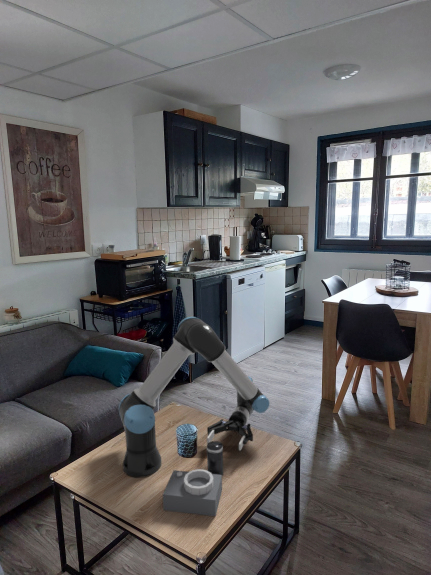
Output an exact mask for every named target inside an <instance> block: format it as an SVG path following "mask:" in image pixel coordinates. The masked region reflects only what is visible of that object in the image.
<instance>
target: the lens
mask: <svg viewBox="0 0 431 575" xmlns="http://www.w3.org/2000/svg"><path fill="white" fill-rule="evenodd" d="M223 450H224V445H223V443H222V442H221V441H218V440H213V441H212V440H211V442H209V443H208V444H207V443H206V456H207V457H206V459H207V460H206V462H207V471H209V472H210V473H211V474H218V475H222V477H223V476H224V451H223Z"/></svg>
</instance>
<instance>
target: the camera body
mask: <svg viewBox="0 0 431 575" xmlns="http://www.w3.org/2000/svg"><path fill="white" fill-rule="evenodd" d="M222 492H223V476H222V475H218V474H211V473H210V472H209V471H208V469H200V468H196V469H193V470H190V471H186V470H185V471H184V470H178V469H177V470H176V469H173V471H172V473H171V475H170V478H169V480H168V482H167V484H166V486H165V489H164V491H163V493H162V507H163V508H162V509H163V511H166V512H167V511H168V512H175V513H176V512H177V513H183V514H194V515H201V516H210V517H216V516H217V513H218V508H219V505H220V500H221V496H222Z"/></svg>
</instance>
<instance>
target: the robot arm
mask: <svg viewBox="0 0 431 575" xmlns="http://www.w3.org/2000/svg"><path fill="white" fill-rule="evenodd" d="M172 342H173V343H172V344H171V346H170V347H169V348H168V350H167V351H166V353H165V354H164V355H163V356H162V358H161V359H160V361H159V362H158V363H157V365H156V366H155V367H154V368H153V370H152V371H151V372H150V374H149V375H148V376H147V378H146V379H145V380H144V382H143V383H142V384H141V385H140V387H138V388H134V389H133V391H132V392H131V393H128V394H126V395H124V397H123V398H122V399H121V400H120V401H119V405H118V414H119V418H120V419H121V422H122V425H123V428H124V433H125V447H126V450H125V454H124V458H123V461H122V467H123V468H122V470H123V472H124V473H125V474H126V475H127V476H129V477H133V478H144V477H149V476H151V475H153V474H156V473H157V472H158V470H159V469H160V468H161V467H162V456H161V452H160V451H159V448H158V447H157V438H156V437H157V436H156V416H155V412H154V409H155V407H156V405H157V402H156V400H157V399H158V397H159V396H160V395H161V393H162V392H163V391H164V390H165V388H166V386H168V384H169V383H170V381H171V380H172V379H173V377H174V376H175V375H176V373H177V372H178V371H179V369H180V368H181V367H182V365H183V364H184V363H185V361H186V360H187V359H188V357H189V356H190V355H194V354H195V353H198V354H200V355H201V356H202V357H203V358H204V359H205V360H206V362H208V363H212V365H214V367H215V368H216V369H217V370H218V371H219V372H220V373H221V375H223V377H224V378H225V379H226V380H227V381H228V382H229V384H230V385H231V386H232V387H233V388H234V389H235V390H236V406H235V409H234V410H233V412H232V413H231V414H230V416H229V418H228V420H226V421H225V420H224V418H223V419H222V418H221V419H219V421H217V422H215V423H213V424H211V425H209V426H207V427H206V429H207V430H206V432H207V437H206V445H207V444H208V443H209V442H211V441H212V440H214V438H215V435H217V434H219V433H223V432H234V433H235V432H237V433H238V434H239V435H240V436H241V439H240V441H239V443H238V451H241V450H242V449H243V447H244V446H246V445H247V443H248V442H249V441H250V442H253V441H254V435H253V432H252V429H251V423H248V421H249V418H250V417H251V415H252V414H253V412H254V411H255V412H256V413H259V414H263V413H265V412H267V411H268V409H269V407H270V400H269V399H268V398H267V396H266V395H265V394H264V393H262V391H261V390H260V389H259V388H258V387H257V385H256V384H255V383H254V382H253V380H254V379H253V378H252V377H251V376H249V375H247V374H246V373H245V372H244V370H243V369H242V368H241V366H240V365H238V363H237V362H236V361H235V360H234V358H233V357H232V356H231V355H230V353H228V351H226V345H225V344H224V343H223V342H222V340H221V339H220V337H219V336H218V334H216V332H215V330H214V329H213V328H212V326H210V325H209V324H207V323H206V322H204V321H203V320H202V319H200V318H198V317H196V316H188V317H184V318H183V319H182V320H181V321H180V322H179V323H178V326H177V332H176V333H175V335H174V336H173V338H172Z"/></svg>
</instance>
